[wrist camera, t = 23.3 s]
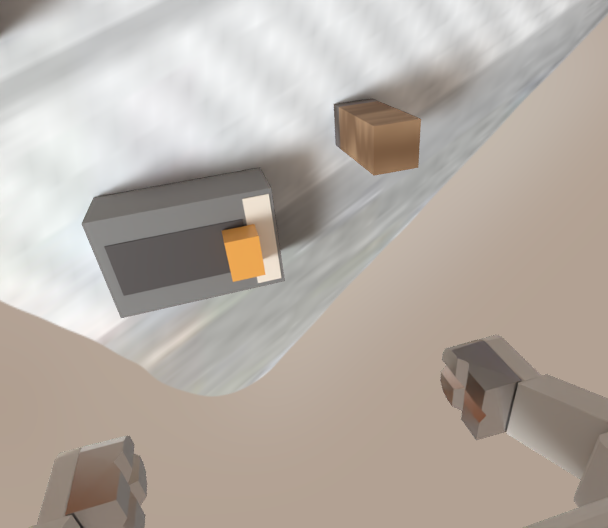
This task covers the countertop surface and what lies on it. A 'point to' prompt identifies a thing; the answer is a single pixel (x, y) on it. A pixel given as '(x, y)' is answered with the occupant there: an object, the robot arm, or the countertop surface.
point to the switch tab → (243, 252)
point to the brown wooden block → (377, 135)
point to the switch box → (180, 239)
